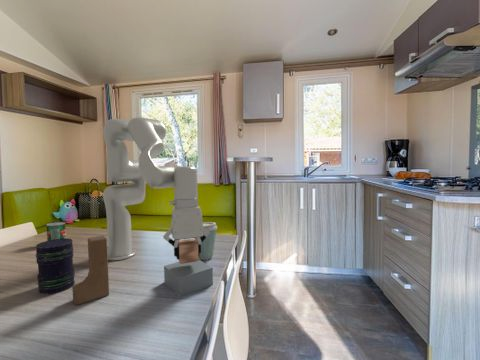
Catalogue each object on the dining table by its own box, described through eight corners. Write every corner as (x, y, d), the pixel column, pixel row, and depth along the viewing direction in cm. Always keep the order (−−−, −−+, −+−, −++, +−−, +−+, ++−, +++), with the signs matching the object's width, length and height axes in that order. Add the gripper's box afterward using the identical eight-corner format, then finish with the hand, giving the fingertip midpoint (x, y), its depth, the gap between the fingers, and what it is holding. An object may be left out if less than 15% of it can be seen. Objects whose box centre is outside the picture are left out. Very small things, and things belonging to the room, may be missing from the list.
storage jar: (45, 297, 76) (43, 249, 75) (32, 289, 81) (30, 244, 80) (80, 284, 84) (78, 241, 83) (67, 277, 89) (64, 236, 88)
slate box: (179, 297, 76) (178, 278, 75) (164, 282, 85) (164, 265, 85) (212, 285, 83) (212, 267, 83) (195, 273, 92) (195, 257, 92)
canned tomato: (69, 243, 129) (68, 222, 128) (51, 248, 122) (50, 226, 121) (62, 241, 133) (61, 221, 132) (44, 245, 126) (43, 224, 126)
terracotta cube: (180, 264, 80) (179, 245, 79) (177, 257, 85) (177, 240, 85) (198, 261, 82) (198, 243, 81) (195, 255, 87) (194, 238, 87)
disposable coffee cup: (187, 259, 105) (186, 224, 105) (202, 251, 115) (202, 219, 114) (208, 263, 101) (207, 227, 100) (222, 255, 110) (221, 221, 109)
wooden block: (74, 306, 71) (71, 244, 70) (72, 299, 74) (69, 240, 73) (109, 295, 77) (107, 238, 76) (106, 289, 80) (103, 235, 79)
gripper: (159, 207, 76) (161, 264, 77) (214, 203, 82) (215, 256, 83) (158, 203, 83) (160, 256, 84) (209, 200, 89) (210, 249, 90)
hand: (187, 256), depth 83 cm, fingers closed on terracotta cube, 6 cm apart
